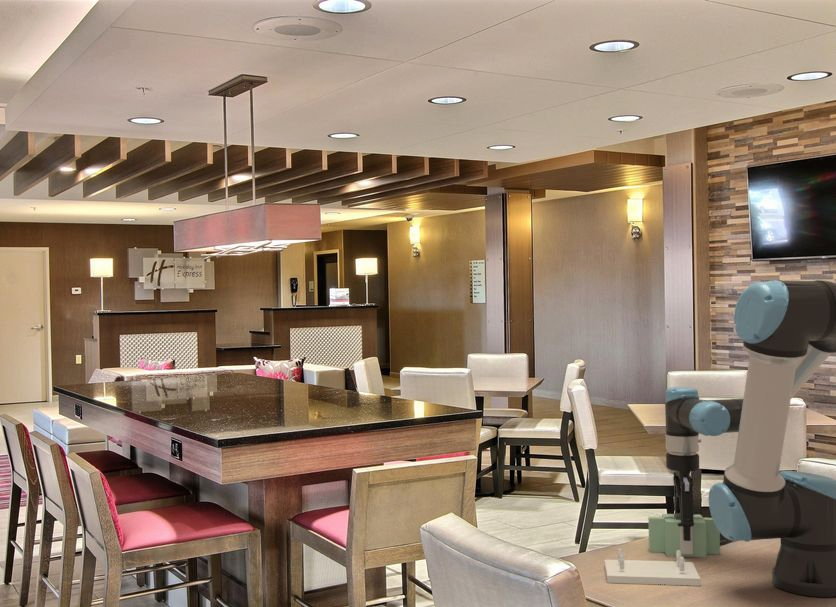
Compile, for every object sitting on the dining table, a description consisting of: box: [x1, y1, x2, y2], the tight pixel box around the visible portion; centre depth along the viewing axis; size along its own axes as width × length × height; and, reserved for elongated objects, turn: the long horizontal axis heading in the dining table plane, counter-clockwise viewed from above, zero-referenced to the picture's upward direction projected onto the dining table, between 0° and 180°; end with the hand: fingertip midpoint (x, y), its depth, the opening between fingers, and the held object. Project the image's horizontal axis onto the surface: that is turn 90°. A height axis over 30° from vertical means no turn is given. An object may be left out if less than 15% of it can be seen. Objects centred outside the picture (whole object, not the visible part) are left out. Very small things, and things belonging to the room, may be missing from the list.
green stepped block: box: [647, 512, 721, 558], centre depth 209 cm, size 16×8×9 cm, turn 81°
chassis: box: [604, 548, 702, 587], centre depth 192 cm, size 19×12×5 cm, turn 81°
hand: (683, 548), depth 209 cm, fingers closed on green stepped block, 8 cm apart
